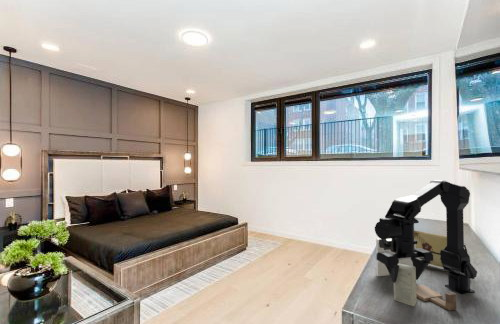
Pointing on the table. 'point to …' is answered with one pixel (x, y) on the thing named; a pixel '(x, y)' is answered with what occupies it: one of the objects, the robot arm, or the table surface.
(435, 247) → the clutch purse
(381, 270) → the white upright block
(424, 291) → the tan wooden paddle
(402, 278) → the skincare box
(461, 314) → the table surface
